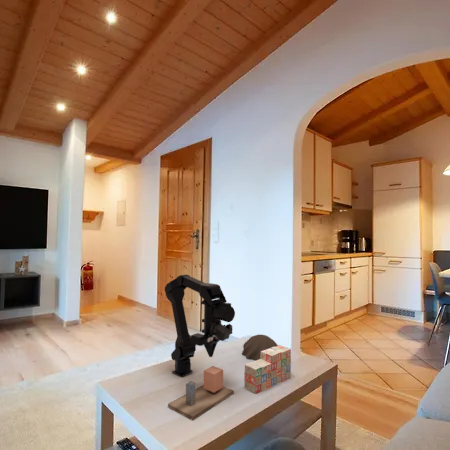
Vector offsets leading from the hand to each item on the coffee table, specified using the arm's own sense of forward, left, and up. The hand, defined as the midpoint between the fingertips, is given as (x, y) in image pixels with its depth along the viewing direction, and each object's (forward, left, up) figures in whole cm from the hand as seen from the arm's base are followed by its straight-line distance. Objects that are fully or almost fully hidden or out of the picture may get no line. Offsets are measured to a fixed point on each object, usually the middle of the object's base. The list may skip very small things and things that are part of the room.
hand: (210, 356), depth 122 cm
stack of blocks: (+15, +18, -12) cm, 27 cm away
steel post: (+4, -15, -12) cm, 19 cm away
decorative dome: (-3, +42, -12) cm, 44 cm away
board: (+4, -9, -12) cm, 15 cm away
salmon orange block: (+4, -3, -10) cm, 11 cm away
